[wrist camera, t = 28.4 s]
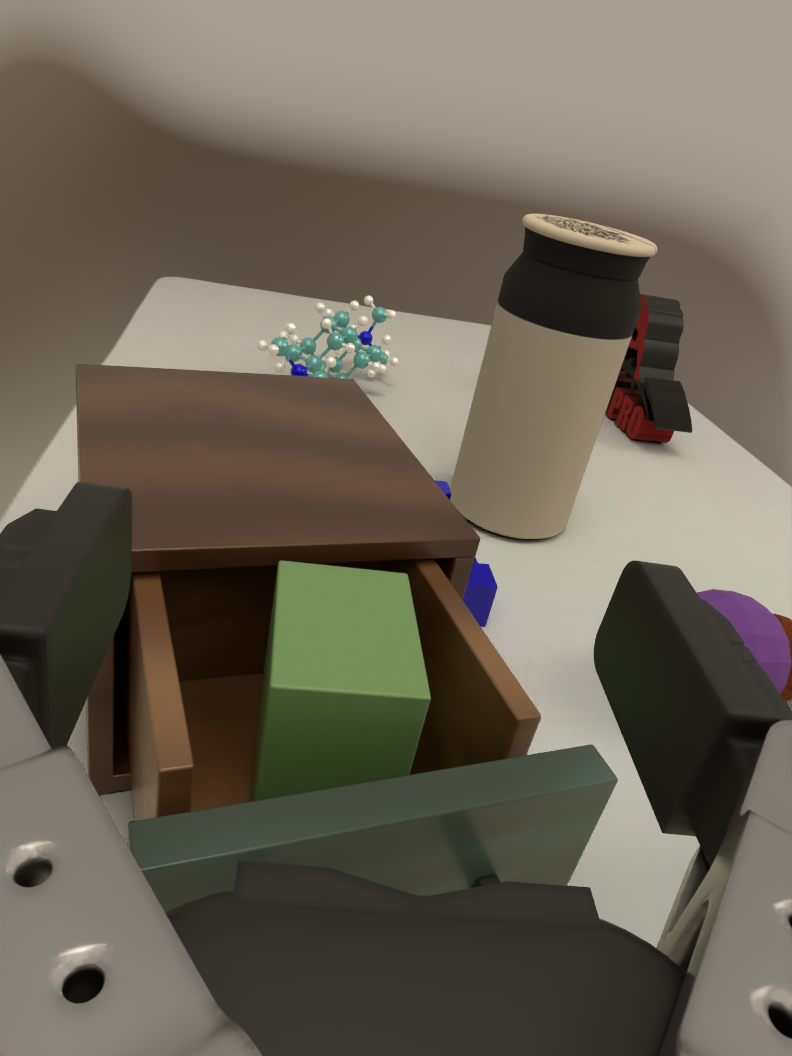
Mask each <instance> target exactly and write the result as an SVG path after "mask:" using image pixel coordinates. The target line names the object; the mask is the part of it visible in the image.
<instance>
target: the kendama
mask: <svg viewBox="0 0 792 1056" xmlns="http://www.w3.org/2000/svg"><path fill="white" fill-rule="evenodd" d="M697 595H698V596H699V598H700V599H703V600H705V601H707V602H708V603H709V604H710V605H711V606H713V607H714V608H715V609H716V610H717V611H719V612H720V613H721V614H722V615H723V616H725V617H726V618H727V619H728V620H729V621H730V622H731V624H732V625H733V627H734V628H735V630H736V631H737V632H738V634H739V635H740V637H741V638H742V640H743V641H744V646H745V647H748V648H749V650H750V651H751V653H752V654H753V656H754V657H755V659H756V660H757V662H756V664H757V665H760V666H761V667H762V669H763V670H764V672H765V673H766V674H767V676H768V677H769V679H770V680H771V682H772V683H773V685H774V686H775V687H776V689H777V690H778V692H779V693H780V695H781V696H782V698H783V699H784V700H785V702H786V701H788V700H789V699H791V698H792V620H791V619H789V618H786V617H783V616H780V615H777V614H772V613H771V612H770V611H769V610H768V609H767V608H765V607H764V606H763V605H761V604H760V603H758V602H757V601H756V600H754V599H753V598H751V597H748V596H745V595H742V594H739V593H736V592H733V591H724V590H714V589H712V590H707V591H703V592H698V593H697Z"/></svg>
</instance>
